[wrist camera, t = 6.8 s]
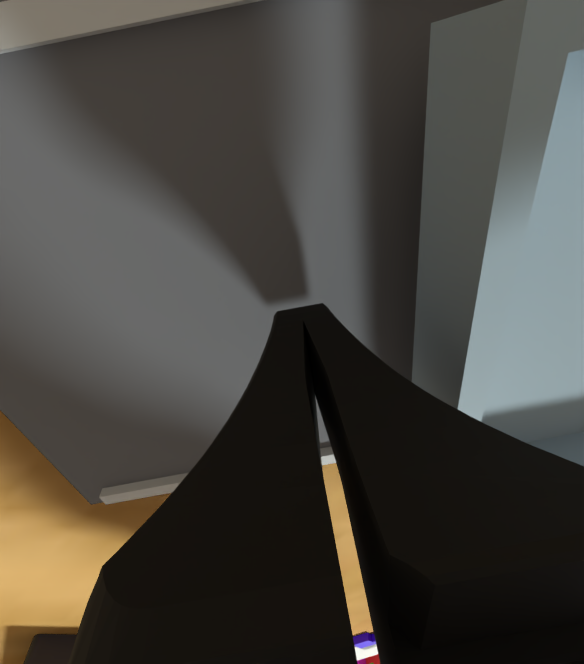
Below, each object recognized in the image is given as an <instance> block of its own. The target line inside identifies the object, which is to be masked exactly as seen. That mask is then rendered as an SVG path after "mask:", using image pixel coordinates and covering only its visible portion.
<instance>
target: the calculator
mask: <svg viewBox="0 0 584 664" xmlns="http://www.w3.org/2000/svg"><path fill="white" fill-rule="evenodd" d="M76 636H77V635H68V634H37V635H35V636H34V638H33V641H32V643H31V646H30V648H29V651H28V654H27V656H26V659H25V661H24V664H68V662H69V659H70V656H71V653H72V649H73V646H74V643H75V640H76Z"/></svg>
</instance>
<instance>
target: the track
mask: <svg viewBox="0 0 584 664" xmlns="http://www.w3.org/2000/svg"><path fill="white" fill-rule="evenodd" d="M500 1H503V0H0V410H1V411H2V413H3V414H4V415H5V416H6V417H7V418H8V419H9V420H10V421H11V422H12V423H13V424H14V425H15V426H16V427H17V428H18V429H19V430H20V431H21V432H22V433H23V434H24V435H25V436H26V437H27V438H28V440H29V441H30V442H31V443H32V444H33V445H34V446H35V447H36V448H37V449H38V450H39V451H40V452H41V453H42V454H43V455H44V456H45V457H46V458H47V459H48V460H49V461H50V462H51V463H52V464H53V466H54V467H55V468H56V469H57V470H58V471H59V472H60V473H61V474H62V475H63V476H64V477H65V478H66V479H67V480H68V481H69V482H70V483H71V484H72V485H73V486H74V487H75V488H76V489H77V490H78V491H79V493H80V494H81V495H82V496H83V497H84V498H85V499H86V500H87V501H88V502H89V503H90V504H97V503H102V502H104V503H105V504H106V505H107V504H112V503H118V502H123V501H129V500H134V499H140V498H145V497H151V496H156V495H162V494H167V493H172V492H173V491H174V490H175V489H176V487H177V486H178V485H179V484H180V483H181V481H182V480H183V479H184V478H185V477H186V475H187V474H188V473H189V472H190V471H191V469H192V468H193V467H194V466H195V465H196V463H197V462H198V461H199V460H200V458H201V457H202V456H203V454H204V453H205V452H206V450H207V449H208V448H209V446H210V445H211V443H212V442H213V441H214V439H215V438H216V436H217V435H218V433H219V432H220V430H221V429H222V428H223V426H224V425H225V423H226V422H227V420H228V419H229V417H230V415H231V414H232V412H233V410H234V409H235V407H236V406H237V404H238V402H239V400H240V399H241V397H242V395H243V393H244V391H245V390H246V388H247V386H248V384H249V382H250V380H251V378H252V375H253V373H254V371H255V369H256V367H257V365H258V363H259V361H260V358H261V355H262V353H263V350H264V348H265V345H266V343H267V340H268V337H269V334H270V331H271V327H272V323H273V318H274V315H275V313H276V312H277V311H281V310H287V309H292V308H298V307H303V306H309V305H314V304H320V303H323V304H324V305H326V306H327V307H328V308H329V310H330V311H331V312H332V313H333V314H334V316H335V317H336V318H337V319H338V320H339V321H340V322H341V323H342V324H343V325H344V326H345V327H346V328H347V329H348V330H349V331H350V332H351V333H352V334H353V335H354V336H355V337H356V338H357V339H358V340H359V341H360V342H361V343H362V344H363V345H365V346H366V347H367V348H368V349H369V350H370V351H371V352H373V353H374V354H375V355H376V356H377V357H379V358H380V359H381V360H382V361H384V362H385V363H386V364H387V365H389V366H390V367H391V368H393V369H394V370H395V371H397V372H398V373H399V374H401V375H402V376H404V377H405V378H406V379H408V380H409V381H411V382H412V367H413V348H414V330H415V311H416V292H417V274H418V255H419V236H420V218H421V199H422V180H423V162H424V143H425V125H426V106H427V87H428V69H429V50H430V31H431V23H433V22H436V21H440V20H443V19H446V18H449V17H452V16H456V15H459V14H462V13H465V12H468V11H471V10H475V9H478V8H481V7H484V6H487V5H491V4H494V3H497V2H500ZM315 397H316V396H315ZM316 408H317V418H318V429H319V440H320V450H321V461H322V465H326V464H332V463H336V460H335V457H334V454H333V451H332V448H331V444H330V441H329V438H328V435H327V432H326V428H325V425H324V422H323V419H322V416H321V412H320V409H319V406H318V403H317V400H316Z"/></svg>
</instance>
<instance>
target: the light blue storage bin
mask: <svg viewBox="0 0 584 664" xmlns="http://www.w3.org/2000/svg"><path fill="white" fill-rule="evenodd" d="M412 383H414V384H415V385H417V386H418V387H420V388H421V389H423V390H425V391H426V392H428V393H430V394H431V395H433V396H434V397H436V398H438V399H440V400H441V401H443V402H445V403H447V404H449V405H451V406H452V407H454V408H456V409H458V410H460V411H462V412H463V413H465V414H467V415H469V416H471V417H473V418H475V419H477V420H479V421H481V422H483V423H485V424H487V425H489V426H491V427H493V428H495V429H497V430H499V431H502V432H504V433H506V434H508V435H510V436H512V437H514V438H517V439H519V440H521V441H523V442H525V443H528V444H530V445H532V446H535V447H537V448H540V449H542V450H545V451H547V452H550V453H552V454H555V455H557V456H560V457H562V458H565V459H567V460H570V461H572V462H575V463H577V464H580V465H582V466H584V0H503V1H500V2H497V3H494V4H491V5H487V6H484V7H481V8H478V9H475V10H471V11H468V12H465V13H462V14H459V15H456V16H452V17H449V18H446V19H443V20H440V21H436V22H433V23H431V31H430V50H429V69H428V87H427V106H426V125H425V143H424V162H423V180H422V199H421V218H420V236H419V255H418V274H417V292H416V311H415V330H414V348H413V367H412Z"/></svg>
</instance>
